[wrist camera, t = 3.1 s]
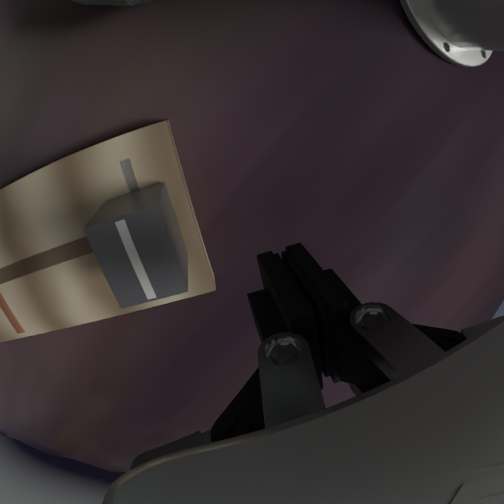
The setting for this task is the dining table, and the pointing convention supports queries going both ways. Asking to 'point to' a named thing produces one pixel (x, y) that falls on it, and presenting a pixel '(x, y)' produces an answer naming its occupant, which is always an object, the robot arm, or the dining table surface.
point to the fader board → (74, 238)
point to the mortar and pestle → (112, 2)
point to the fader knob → (139, 246)
